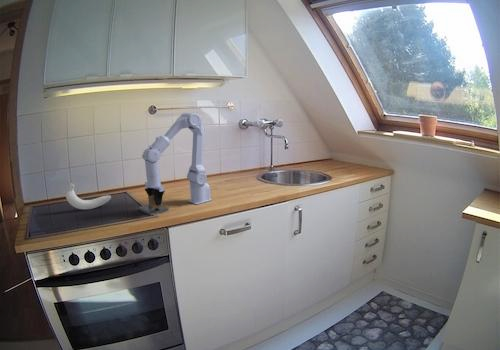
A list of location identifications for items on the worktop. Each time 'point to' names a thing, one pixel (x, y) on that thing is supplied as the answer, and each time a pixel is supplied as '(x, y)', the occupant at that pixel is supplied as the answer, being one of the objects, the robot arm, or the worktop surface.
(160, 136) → the robot arm
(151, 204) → the hollow block
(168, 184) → the worktop surface
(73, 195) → the banana
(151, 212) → the pin plate
